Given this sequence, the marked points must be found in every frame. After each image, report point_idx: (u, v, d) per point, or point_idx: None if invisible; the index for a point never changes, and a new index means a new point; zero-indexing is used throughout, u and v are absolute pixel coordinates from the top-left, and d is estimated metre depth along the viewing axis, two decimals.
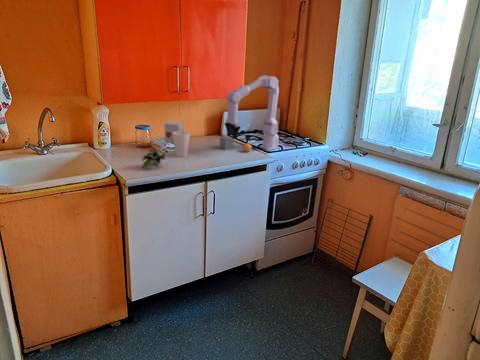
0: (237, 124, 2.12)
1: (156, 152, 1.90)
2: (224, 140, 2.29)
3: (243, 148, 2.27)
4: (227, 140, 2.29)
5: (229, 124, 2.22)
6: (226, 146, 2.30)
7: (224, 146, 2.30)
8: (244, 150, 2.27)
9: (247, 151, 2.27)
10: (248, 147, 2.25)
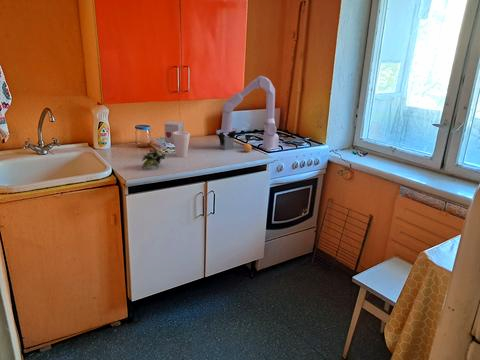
0: (217, 131, 2.26)
1: (156, 152, 1.90)
2: (224, 140, 2.29)
3: (243, 148, 2.27)
4: (227, 140, 2.29)
5: (230, 133, 2.33)
6: (226, 146, 2.30)
7: (224, 146, 2.30)
8: (244, 150, 2.27)
9: (247, 151, 2.27)
10: (248, 147, 2.25)
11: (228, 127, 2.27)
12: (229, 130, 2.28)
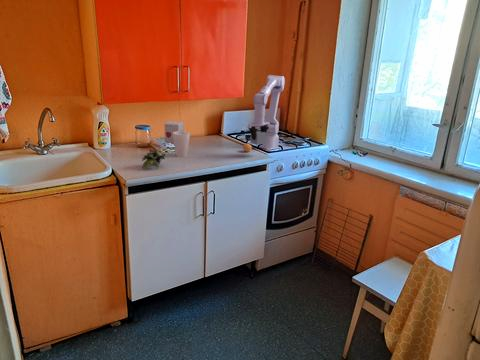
0: (249, 125, 2.11)
1: (156, 152, 1.90)
2: (256, 134, 2.14)
3: (243, 148, 2.27)
4: (259, 134, 2.14)
5: (262, 127, 2.18)
6: (258, 140, 2.15)
7: (256, 141, 2.15)
8: (244, 150, 2.27)
9: (247, 151, 2.27)
10: (248, 147, 2.25)
11: (261, 120, 2.12)
12: (261, 124, 2.13)
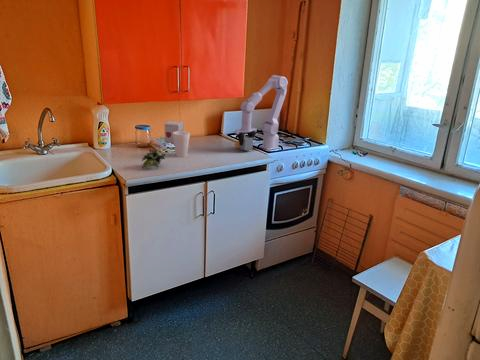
0: (236, 131, 2.21)
1: (156, 152, 1.90)
2: (244, 140, 2.24)
3: (236, 144, 2.31)
4: (247, 140, 2.24)
5: (249, 133, 2.28)
6: (246, 145, 2.25)
7: (244, 146, 2.25)
8: (236, 142, 2.31)
9: (236, 141, 2.33)
10: None
11: (248, 127, 2.22)
12: (248, 130, 2.23)
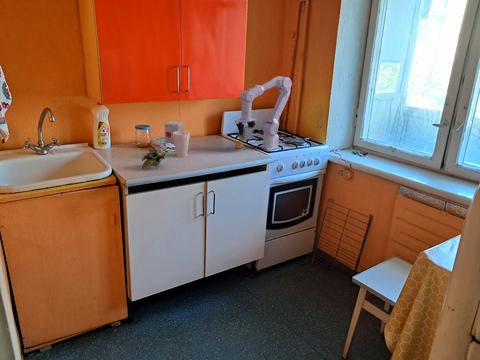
0: (236, 121, 2.20)
1: (156, 152, 1.90)
2: (243, 130, 2.22)
3: (236, 144, 2.31)
4: (246, 130, 2.22)
5: (249, 123, 2.27)
6: (246, 135, 2.23)
7: (244, 136, 2.24)
8: (236, 142, 2.31)
9: (236, 141, 2.33)
10: None
11: (247, 117, 2.21)
12: (248, 120, 2.21)
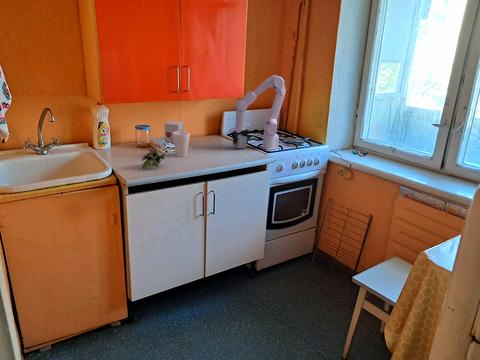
0: (230, 130, 2.26)
1: (156, 152, 1.90)
2: (238, 139, 2.28)
3: None
4: (241, 139, 2.28)
5: (243, 132, 2.33)
6: (240, 144, 2.30)
7: (237, 145, 2.30)
8: None
9: None
10: None
11: (241, 126, 2.27)
12: (242, 129, 2.28)
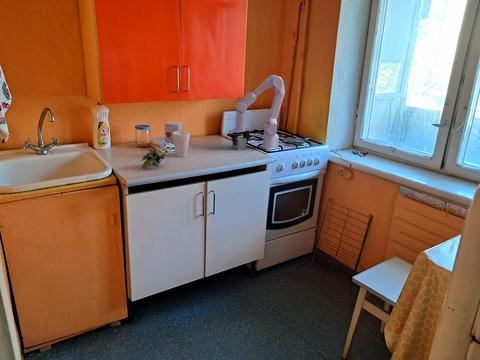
0: (230, 131, 2.26)
1: (156, 152, 1.90)
2: (237, 140, 2.29)
3: None
4: (240, 140, 2.29)
5: (244, 133, 2.33)
6: (239, 146, 2.30)
7: (237, 147, 2.31)
8: None
9: None
10: None
11: (241, 127, 2.27)
12: (242, 130, 2.28)
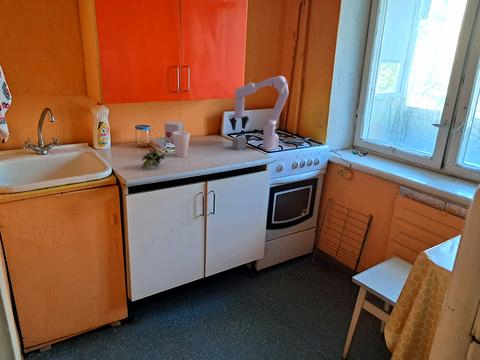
0: (229, 116, 2.32)
1: (156, 152, 1.90)
2: (237, 140, 2.29)
3: None
4: (240, 140, 2.29)
5: (243, 118, 2.40)
6: (239, 146, 2.30)
7: (237, 147, 2.31)
8: None
9: None
10: None
11: (240, 112, 2.33)
12: (241, 115, 2.34)
